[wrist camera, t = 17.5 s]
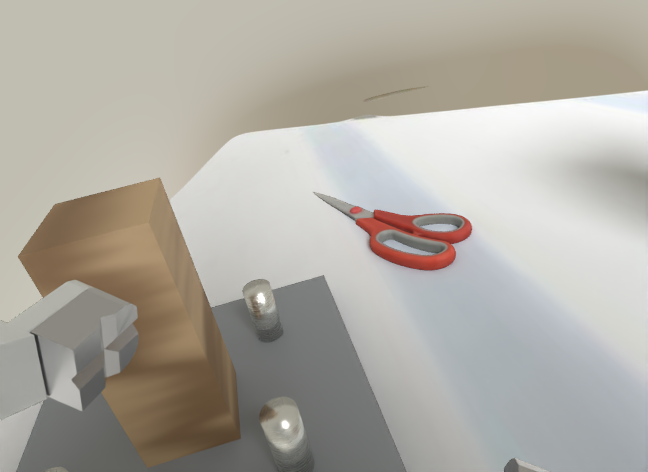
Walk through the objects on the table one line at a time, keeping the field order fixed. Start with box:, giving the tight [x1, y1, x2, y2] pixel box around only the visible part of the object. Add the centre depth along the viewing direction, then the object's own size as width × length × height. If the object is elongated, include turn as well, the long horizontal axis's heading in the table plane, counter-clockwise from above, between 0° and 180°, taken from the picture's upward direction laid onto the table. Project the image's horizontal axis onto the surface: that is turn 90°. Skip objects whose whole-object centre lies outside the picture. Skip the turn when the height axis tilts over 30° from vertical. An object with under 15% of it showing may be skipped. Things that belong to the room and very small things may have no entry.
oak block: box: [18, 178, 241, 468], centre depth 21 cm, size 4×4×12 cm
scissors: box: [313, 192, 472, 270], centre depth 42 cm, size 8×21×2 cm, turn 46°
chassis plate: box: [16, 275, 406, 472], centre depth 24 cm, size 18×18×2 cm
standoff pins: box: [44, 279, 314, 472], centre depth 23 cm, size 11×11×4 cm
